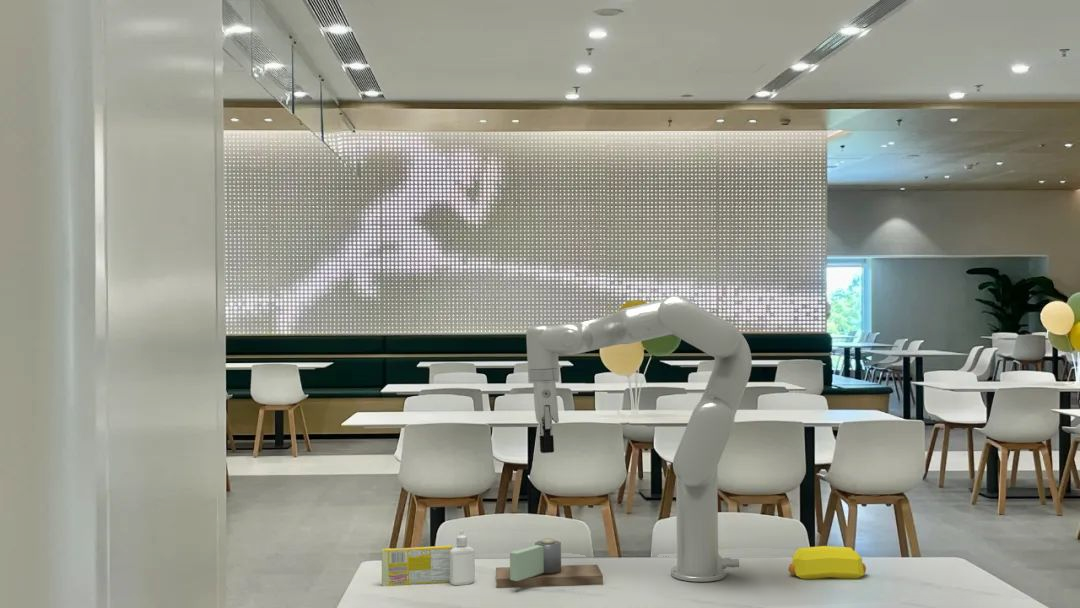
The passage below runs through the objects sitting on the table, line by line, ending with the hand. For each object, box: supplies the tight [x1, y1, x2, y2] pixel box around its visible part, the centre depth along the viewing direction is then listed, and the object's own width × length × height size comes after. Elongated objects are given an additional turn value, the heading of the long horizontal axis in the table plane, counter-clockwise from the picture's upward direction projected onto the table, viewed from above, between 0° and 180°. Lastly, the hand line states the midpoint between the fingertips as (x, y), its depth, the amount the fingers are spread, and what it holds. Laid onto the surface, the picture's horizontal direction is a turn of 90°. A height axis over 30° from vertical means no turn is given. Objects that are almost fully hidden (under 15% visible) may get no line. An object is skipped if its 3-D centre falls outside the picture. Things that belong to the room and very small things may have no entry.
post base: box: [495, 564, 604, 589], centre depth 220 cm, size 24×10×2 cm, turn 94°
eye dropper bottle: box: [449, 529, 476, 586], centre depth 219 cm, size 4×6×12 cm
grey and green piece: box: [509, 537, 562, 581], centre depth 217 cm, size 15×6×7 cm, turn 140°
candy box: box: [381, 545, 453, 587], centre depth 219 cm, size 16×2×8 cm, turn 97°
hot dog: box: [788, 545, 867, 580], centre depth 221 cm, size 18×7×8 cm
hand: (547, 452), depth 230 cm, fingers closed
